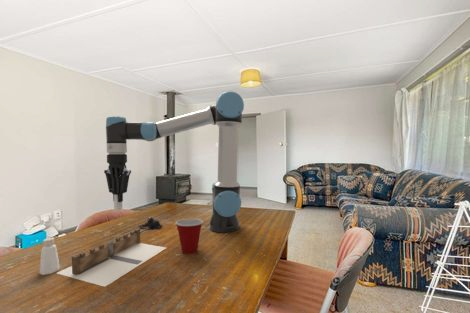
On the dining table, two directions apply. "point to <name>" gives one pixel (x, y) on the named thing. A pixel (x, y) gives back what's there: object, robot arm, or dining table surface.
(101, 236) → the dining table surface
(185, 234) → the plastic cup
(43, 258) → the salt shaker
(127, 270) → the card
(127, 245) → the wooden notched wall
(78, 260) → the fence fixed
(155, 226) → the stuffed animal
